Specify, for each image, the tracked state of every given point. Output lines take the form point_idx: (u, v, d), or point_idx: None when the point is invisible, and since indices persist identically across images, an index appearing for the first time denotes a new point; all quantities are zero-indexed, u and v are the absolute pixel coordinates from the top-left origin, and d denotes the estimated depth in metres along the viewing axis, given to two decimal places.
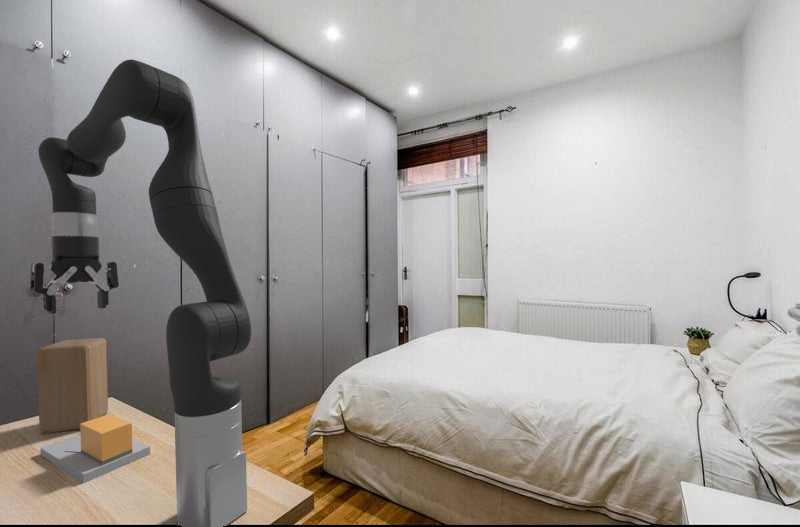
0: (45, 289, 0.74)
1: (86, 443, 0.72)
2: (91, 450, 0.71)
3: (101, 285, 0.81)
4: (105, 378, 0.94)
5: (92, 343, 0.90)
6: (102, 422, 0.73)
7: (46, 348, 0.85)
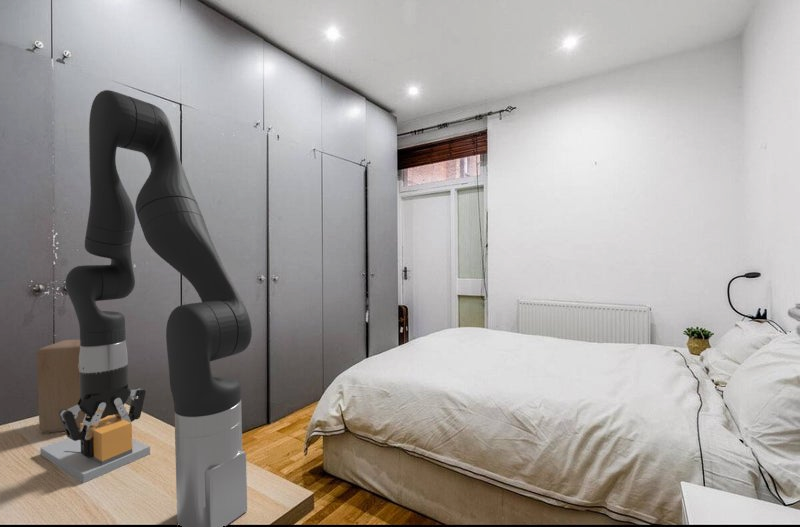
0: (82, 435, 0.69)
1: None
2: None
3: (124, 419, 0.75)
4: None
5: None
6: (102, 422, 0.73)
7: (46, 348, 0.85)
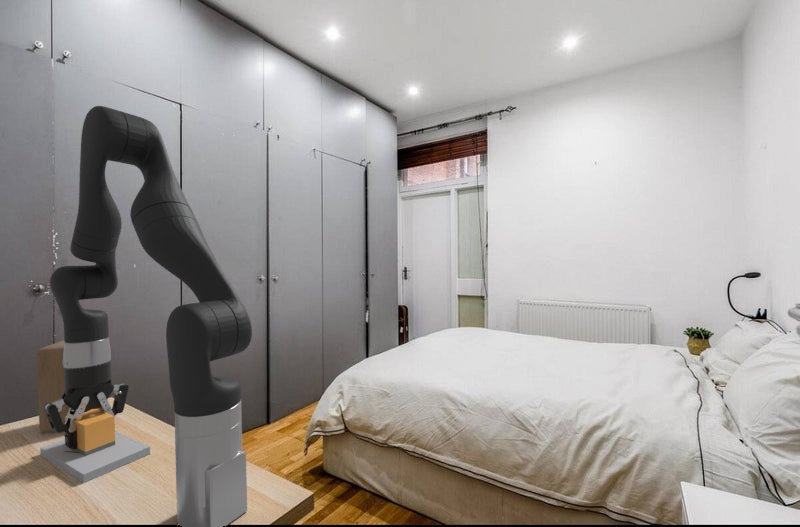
0: (66, 428, 0.72)
1: None
2: None
3: None
4: None
5: None
6: (86, 415, 0.77)
7: (46, 348, 0.85)
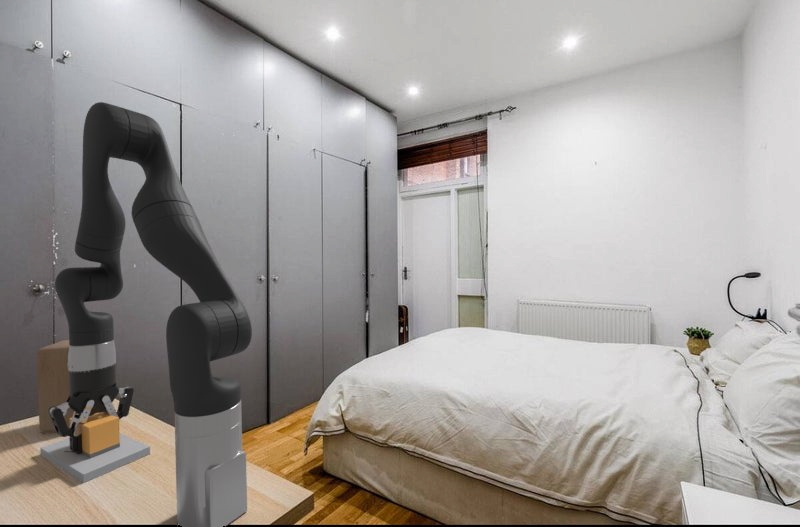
0: (71, 432, 0.71)
1: None
2: None
3: None
4: None
5: None
6: (91, 417, 0.76)
7: (46, 348, 0.85)
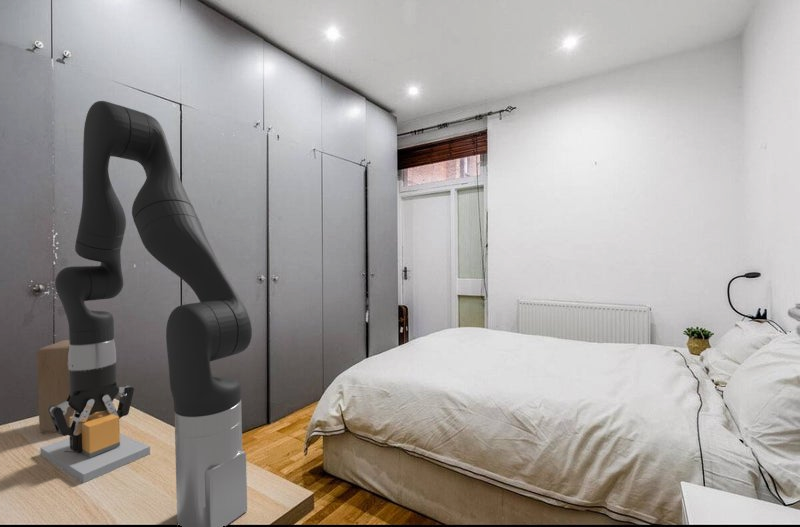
0: (71, 431, 0.71)
1: None
2: None
3: None
4: None
5: None
6: (91, 416, 0.76)
7: (46, 348, 0.85)
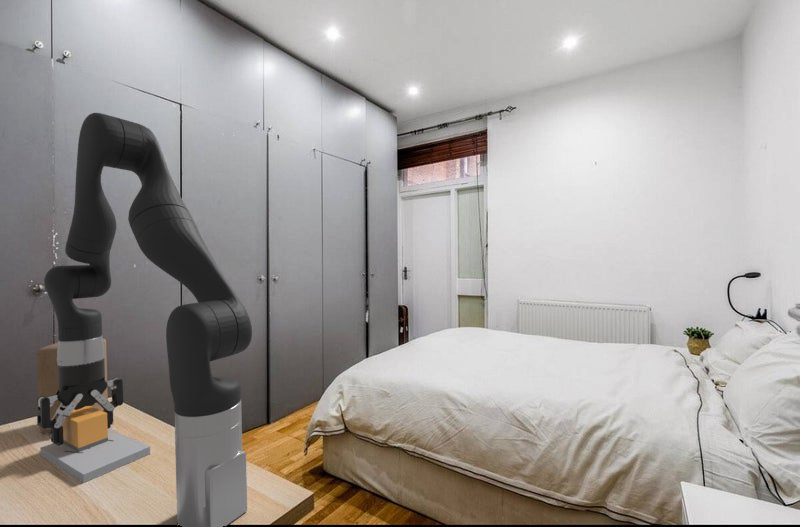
0: (52, 422, 0.73)
1: (64, 431, 0.77)
2: (68, 438, 0.76)
3: (106, 406, 0.80)
4: (105, 378, 0.94)
5: None
6: (80, 412, 0.78)
7: (46, 348, 0.85)
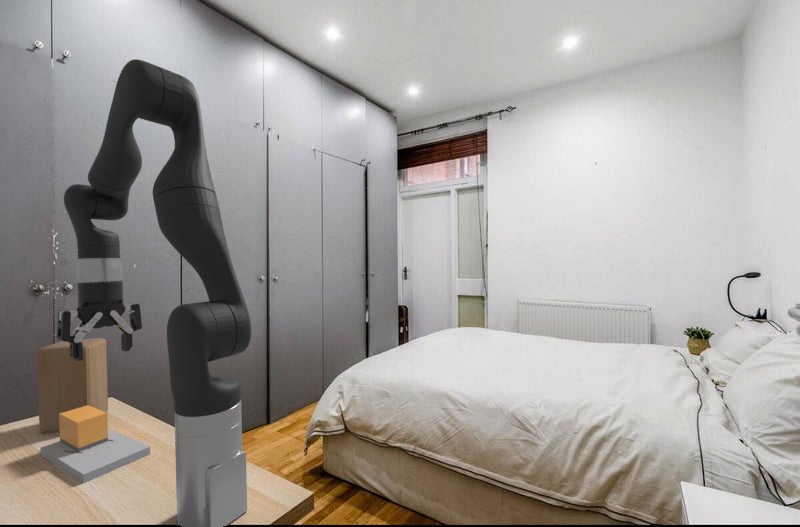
0: (72, 337, 0.73)
1: (64, 431, 0.77)
2: (68, 438, 0.76)
3: (125, 328, 0.81)
4: (105, 378, 0.94)
5: (92, 343, 0.90)
6: (80, 412, 0.78)
7: (46, 348, 0.85)
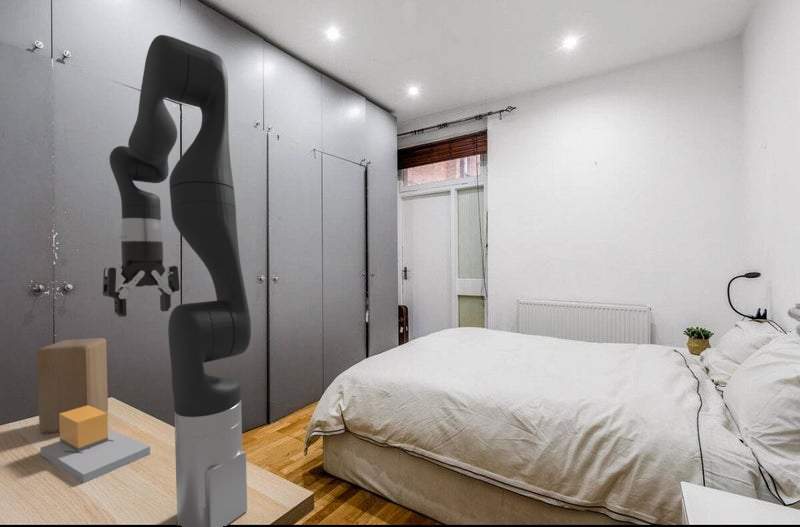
0: (117, 293, 0.76)
1: (64, 431, 0.77)
2: (68, 438, 0.76)
3: (165, 289, 0.84)
4: (105, 378, 0.94)
5: (92, 343, 0.90)
6: (80, 412, 0.78)
7: (46, 348, 0.85)
